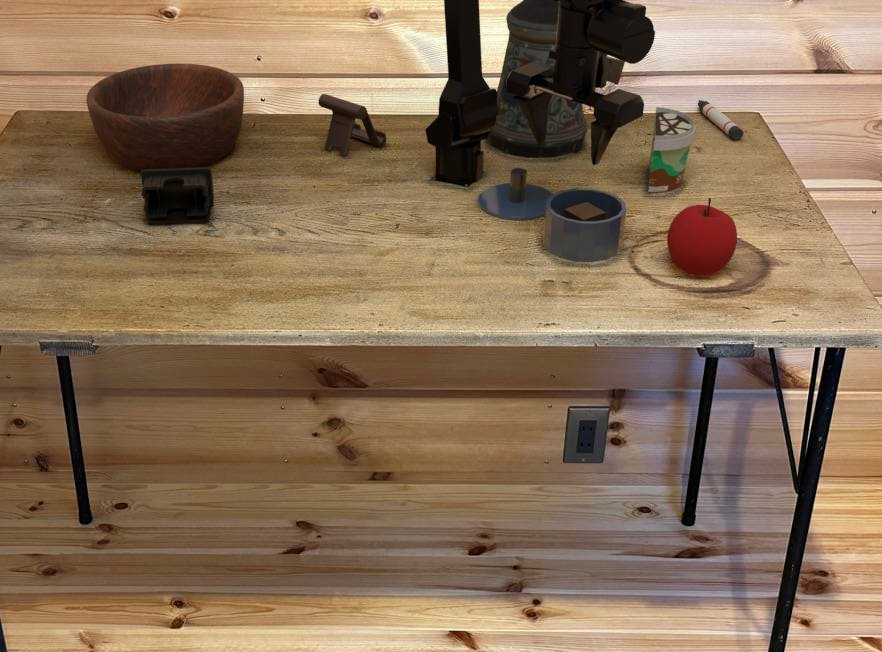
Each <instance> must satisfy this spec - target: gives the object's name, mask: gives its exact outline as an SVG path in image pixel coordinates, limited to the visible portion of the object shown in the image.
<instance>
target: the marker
mask: <svg viewBox="0 0 882 652" xmlns="http://www.w3.org/2000/svg"><path fill="white" fill-rule="evenodd" d="M697 106H698V110H699V111H700V112H701V113H702V114H703V115H704V116H705V117H706V118H708V119H709V120H710V121H711V122H712V123H714V124H715V125H716V126H717V127H718V128H719V129H720V130H721V131H723V132H724V133H725V134H726V135H728V137H730V138H732V139H733V140H734V141H739V140H741V139H742V138H743V136H744V131H743V130H742V128H740V127H739V125H738V124H736V123H735V122H734V121H732V120H731V119H730V118H729V117H727V116H726V115H725V114H724V113H723V112H722V111H721V110H719V109H718V108H717V107H715V106H714V105H713V104H712V103H710V102H709V101H707V100H702V99H701V100H700V99H698V102H697Z"/></svg>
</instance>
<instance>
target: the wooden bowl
mask: <svg viewBox="0 0 882 652" xmlns="http://www.w3.org/2000/svg"><path fill="white" fill-rule="evenodd" d="M85 100H86V101H85V103H86V107H87V110H88V114H89V116H90V120H91V123H92V126H93V129H94V131H95V134H96V136H97V138H98V140H99V142H100V143H101V145H102V147H103V149H104V150H105V151H106V153H107V154H108V155H109V156H110V158H112V160H114V161H115V162H116V163H118V164H120V165H121V166H123V167H125V168H128V169H130V170H134V171H138V172H141V171H142V170H144V169H170V168H197V167H208V166H209V165H211V164H214V163H216V162H218V161H220V160H222V159H224V157H226V156H227V155H228V154H229V153H230V152H231V151H232V149H233V148H234V146H235V144H236V143H237V140H238V138H239V135H240V132H241V128H242V124H243V117H244V104H245V103H244V102H245V87H244V84H243V82H242V80H240V78H239V77H238V76H236V75H235V74H233V73H232V72H230V71H228V70H225V69H222V68H218V67H215V66H211V65H204V64H196V63H159V64H152V65H150V64H149V65H145V66H144V65H143V66H139V67H134V68H130V69H125V70H123V71H119V72H116V73H113V74H111V75H109V76H106V77H104V78H102V79H101V80H99V81H98V82H96V83H95V84H94V85H93V86H92V87H91V88H90V89H89V90H88V92H87V93H86V99H85Z"/></svg>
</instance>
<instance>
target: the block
mask: <svg viewBox="0 0 882 652" xmlns="http://www.w3.org/2000/svg"><path fill="white" fill-rule="evenodd" d="M605 215H606V212H604V211H602V210H600V209H599V208H597V207H595V206H593V205H591V204H590V203H588V202H585V203H582V204H579V205H576V206H572V207H569V208H566V209H565V210H564V217H565V218H568V219H573V220H577V221H601V220H605Z"/></svg>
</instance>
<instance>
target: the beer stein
mask: <svg viewBox="0 0 882 652" xmlns="http://www.w3.org/2000/svg"><path fill="white" fill-rule="evenodd" d="M558 10H559V3H558V2H556V1H553V0H522V1H520V2H519V3H517V4H516V5H515V6H513V7H512V8H511V9H510V10H509V11H508V13H506V17H505V20H506V26H507V30H508V40H507V44H506V48H505V53H504V59H503V63H502V68H501V72H500V77H499V82H498V85H497V89H496V91H497V94H498V95H497V108H498V112H499V115H498V116H497V117H496V124H495V126H493V128H492V131H491V134H490V137H489V139H487V141H488V142H489V144H490V146H491V147H493V148H494V149H496V150H497V151H499V152H501V153H502V154H506V155H509V156H516V157H521V158H526V159H527V158H529V159H552V158H558V157H562V156H566V155H569V154H577V153H578V152H580V151H581V149H582V147H583V144H584V141H585V138H586V135H587V132H588V121H587V119H586V116H585V112H584V104H581V103H578V102H575V101H571V100H568V99H565V98H562V97H559V96H556V95H553V96H552V98H551V100H550V102H549V106H548V118H547V131H546V138H545V143H544V144H543V145H541V146H539V145H538V144H537V142H536V140H535V138H534V135H533V133H532V130H531V128H530V126H529V124H528V121H527V119H526V117H525V115H524V113H523V111H522V110H521V108H520V106H519V104H518V102H517V101H515V100H513V95H514V94H511V93H508V92H506V80H507V77H508V75H509V73H510V72H511V71H512V70H515V69H517V68H520V67H522V66H524V65H527V64H529V63H531V62H532V63H536V64H539V65H542V66H546V67H549V68H552V70H553V71H554V60H555V59H551V58H549V50H551V49H553V48H556V35H557V23H558ZM606 56H608V55H607V54H606Z"/></svg>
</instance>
